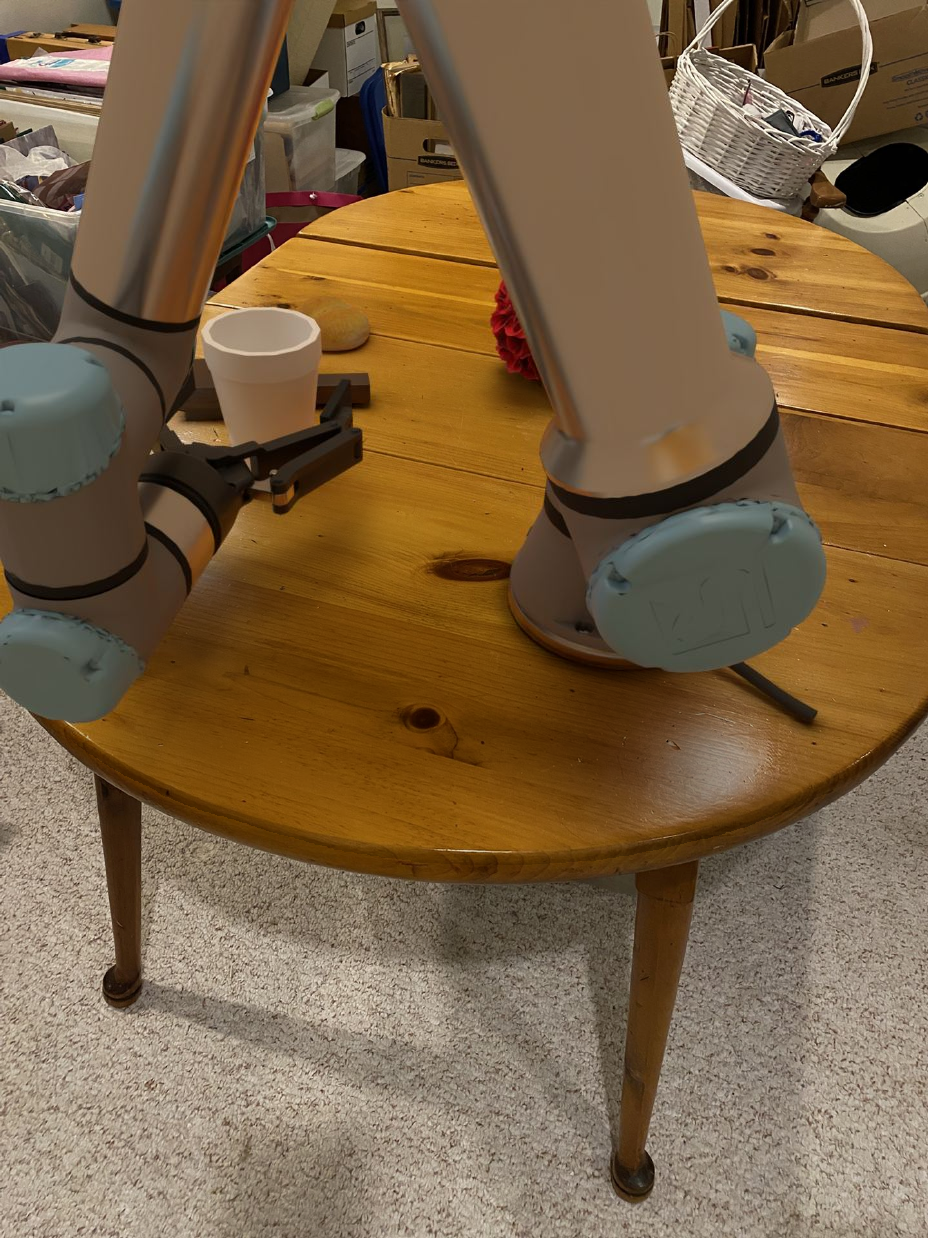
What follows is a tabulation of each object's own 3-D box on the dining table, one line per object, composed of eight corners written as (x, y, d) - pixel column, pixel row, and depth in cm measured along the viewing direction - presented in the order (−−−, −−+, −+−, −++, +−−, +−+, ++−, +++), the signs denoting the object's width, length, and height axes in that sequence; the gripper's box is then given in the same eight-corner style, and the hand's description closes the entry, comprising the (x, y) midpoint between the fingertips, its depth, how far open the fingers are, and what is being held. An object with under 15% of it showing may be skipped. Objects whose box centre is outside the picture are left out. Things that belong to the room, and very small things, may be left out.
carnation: (605, 356, 122) (562, 476, 95) (512, 247, 117) (438, 342, 90) (703, 276, 114) (686, 384, 86) (607, 154, 108) (556, 228, 81)
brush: (367, 387, 96) (366, 355, 93) (372, 416, 91) (371, 383, 89) (186, 392, 93) (181, 358, 91) (181, 422, 88) (176, 387, 86)
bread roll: (325, 360, 100) (323, 324, 97) (280, 331, 105) (278, 296, 102) (386, 342, 104) (386, 307, 102) (340, 315, 109) (339, 281, 107)
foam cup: (338, 488, 81) (332, 348, 73) (232, 505, 78) (213, 362, 70) (311, 435, 88) (303, 301, 79) (212, 450, 85) (193, 312, 76)
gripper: (2, 546, 65) (133, 405, 81) (348, 597, 62) (413, 443, 78) (-30, 452, 60) (117, 323, 76) (344, 505, 57) (414, 360, 73)
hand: (267, 383), depth 77 cm, fingers open, 13 cm apart
